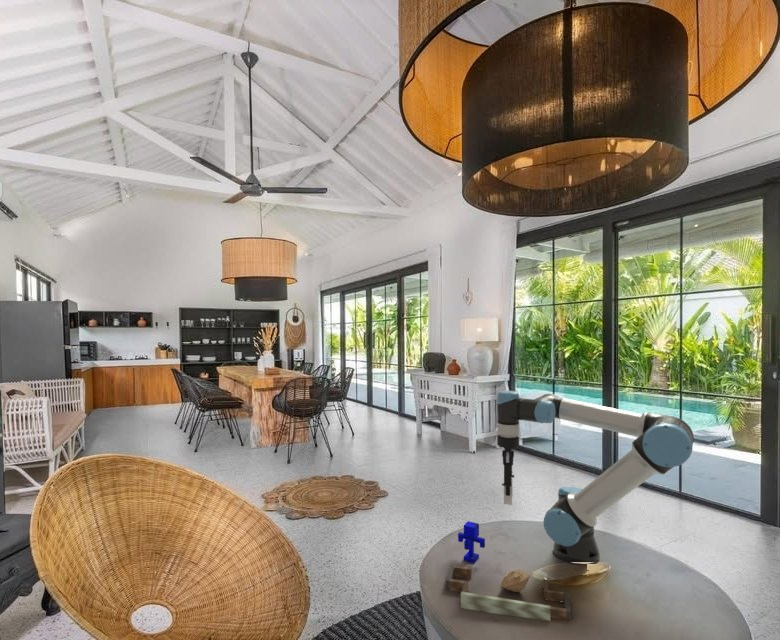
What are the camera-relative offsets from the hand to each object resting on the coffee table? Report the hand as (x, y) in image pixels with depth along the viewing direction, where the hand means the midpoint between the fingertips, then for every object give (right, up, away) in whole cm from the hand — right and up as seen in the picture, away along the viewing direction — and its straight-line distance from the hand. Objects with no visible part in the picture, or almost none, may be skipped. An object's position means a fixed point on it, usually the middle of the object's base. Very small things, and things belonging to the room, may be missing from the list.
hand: (508, 499), depth 163 cm
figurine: (-14, -19, -4) cm, 24 cm away
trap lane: (-7, -19, -26) cm, 33 cm away
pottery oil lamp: (-4, -19, -22) cm, 29 cm away
